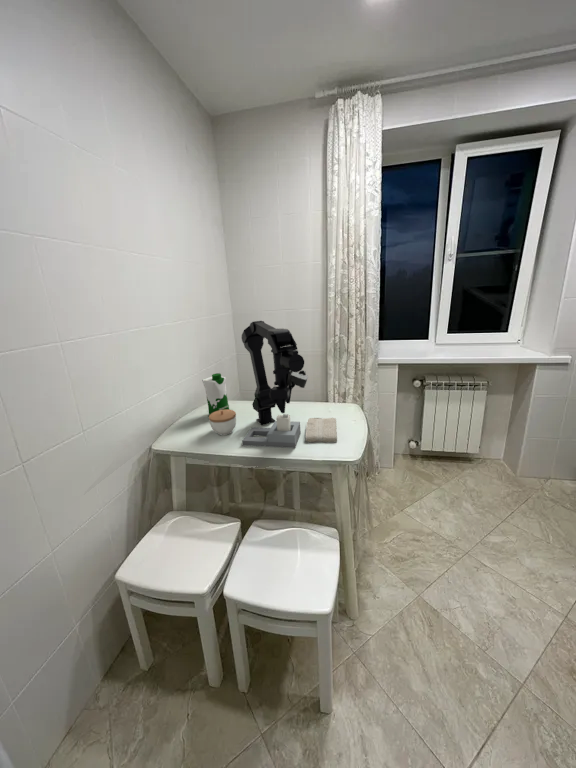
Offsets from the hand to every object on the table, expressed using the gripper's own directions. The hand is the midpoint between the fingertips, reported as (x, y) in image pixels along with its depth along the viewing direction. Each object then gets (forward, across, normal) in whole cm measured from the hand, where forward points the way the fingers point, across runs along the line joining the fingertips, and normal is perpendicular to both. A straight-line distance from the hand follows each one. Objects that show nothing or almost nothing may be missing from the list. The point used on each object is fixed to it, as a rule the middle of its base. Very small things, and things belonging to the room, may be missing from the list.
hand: (285, 407), depth 107 cm
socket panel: (+13, 0, +6) cm, 14 cm away
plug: (+10, 0, +1) cm, 10 cm away
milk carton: (+13, +22, +37) cm, 45 cm away
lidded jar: (+13, +5, +28) cm, 31 cm away
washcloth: (+14, +8, -12) cm, 20 cm away
